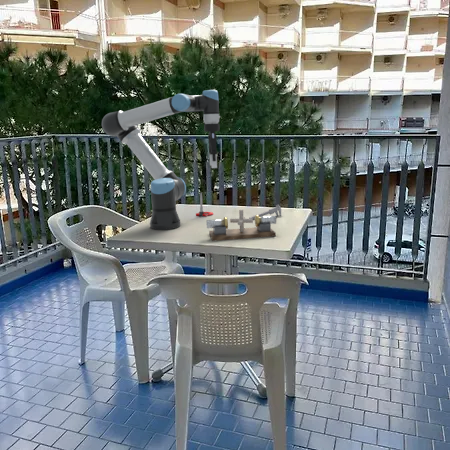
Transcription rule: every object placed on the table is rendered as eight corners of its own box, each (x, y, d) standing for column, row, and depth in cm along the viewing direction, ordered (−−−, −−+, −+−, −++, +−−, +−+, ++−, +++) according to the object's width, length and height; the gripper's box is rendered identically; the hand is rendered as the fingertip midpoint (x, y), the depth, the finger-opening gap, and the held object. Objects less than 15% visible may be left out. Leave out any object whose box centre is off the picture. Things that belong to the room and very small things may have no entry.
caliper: (280, 215, 228) (280, 204, 226) (281, 215, 227) (281, 204, 225) (247, 220, 219) (246, 208, 217) (248, 220, 218) (247, 208, 217)
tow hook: (203, 213, 242) (194, 215, 234) (202, 190, 239) (193, 192, 231) (215, 214, 238) (207, 217, 230) (215, 191, 235) (206, 193, 227)
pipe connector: (251, 234, 184) (250, 212, 181) (228, 234, 186) (227, 212, 184) (254, 229, 193) (254, 207, 191) (232, 228, 195) (232, 207, 193)
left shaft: (208, 235, 185) (207, 220, 183) (206, 232, 191) (205, 217, 189) (228, 234, 186) (227, 218, 184) (226, 231, 192) (225, 215, 190)
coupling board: (212, 240, 182) (212, 237, 182) (209, 233, 194) (209, 230, 194) (275, 236, 186) (275, 232, 186) (269, 229, 197) (269, 226, 197)
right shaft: (257, 232, 187) (257, 216, 186) (254, 229, 193) (254, 213, 192) (277, 230, 189) (277, 215, 187) (273, 227, 194) (273, 212, 193)
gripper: (221, 122, 196) (223, 168, 201) (217, 122, 220) (218, 164, 225) (205, 123, 195) (207, 169, 200) (203, 123, 219) (204, 164, 224)
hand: (213, 166), depth 213 cm, fingers open, 13 cm apart
